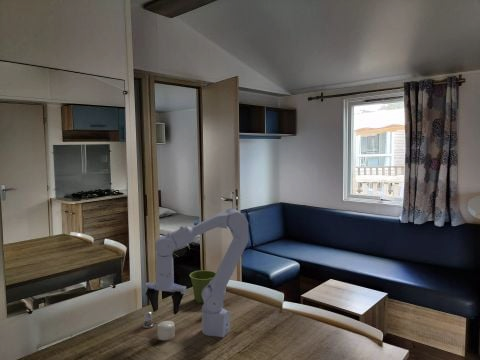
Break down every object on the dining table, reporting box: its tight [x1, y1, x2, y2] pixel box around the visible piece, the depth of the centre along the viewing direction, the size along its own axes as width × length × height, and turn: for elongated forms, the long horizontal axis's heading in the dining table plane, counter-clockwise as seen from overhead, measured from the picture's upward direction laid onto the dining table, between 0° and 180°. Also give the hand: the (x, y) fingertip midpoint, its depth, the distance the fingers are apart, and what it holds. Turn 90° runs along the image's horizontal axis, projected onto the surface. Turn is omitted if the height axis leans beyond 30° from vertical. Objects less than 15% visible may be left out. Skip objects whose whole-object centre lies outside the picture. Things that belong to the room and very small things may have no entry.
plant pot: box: [189, 270, 217, 304], centre depth 159 cm, size 12×12×11 cm
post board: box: [126, 310, 192, 345], centre depth 129 cm, size 20×10×6 cm, turn 69°
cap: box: [157, 320, 176, 341], centre depth 126 cm, size 6×6×4 cm
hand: (165, 311), depth 126 cm, fingers open, 7 cm apart
